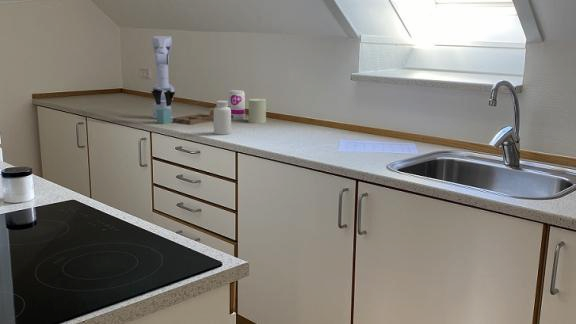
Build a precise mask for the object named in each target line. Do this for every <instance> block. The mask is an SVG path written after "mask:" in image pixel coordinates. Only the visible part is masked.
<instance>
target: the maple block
mask: <svg viewBox="0 0 576 324" xmlns="http://www.w3.org/2000/svg"><path fill="white" fill-rule="evenodd" d="M214 108H215V107H212V108H209V114H208V115H213V116H214Z"/></svg>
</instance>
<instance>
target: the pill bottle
mask: <svg viewBox="0 0 576 324" xmlns="http://www.w3.org/2000/svg"><path fill="white" fill-rule="evenodd" d="M215 105H216V106H215V107H213V108H214V121H213V134H215V135H219V136H221V135H223V136H226V135H230V134H232V120H231V109H230V108H229V101H228V100H217V101H215Z"/></svg>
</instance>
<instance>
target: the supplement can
mask: <svg viewBox="0 0 576 324" xmlns="http://www.w3.org/2000/svg"><path fill="white" fill-rule="evenodd" d="M245 97H246V96H245V91H244V90H241V89H233V90H232V89H231V90H229V93H228V100H229V101H228V107H229V108H230V109H231V121H243V120H244V119H245V118H246V100H245V99H246V98H245Z"/></svg>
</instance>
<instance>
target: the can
mask: <svg viewBox="0 0 576 324" xmlns="http://www.w3.org/2000/svg"><path fill="white" fill-rule="evenodd" d="M248 123H250V124H265V123H267V99H265V98H249V99H248Z"/></svg>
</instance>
